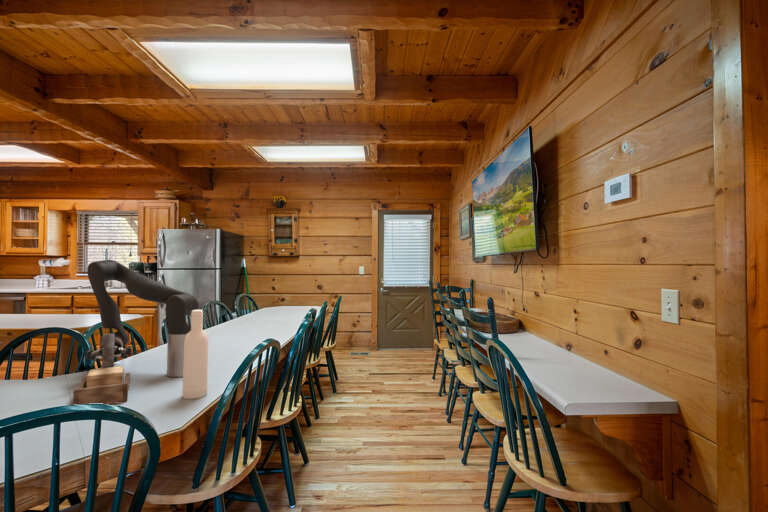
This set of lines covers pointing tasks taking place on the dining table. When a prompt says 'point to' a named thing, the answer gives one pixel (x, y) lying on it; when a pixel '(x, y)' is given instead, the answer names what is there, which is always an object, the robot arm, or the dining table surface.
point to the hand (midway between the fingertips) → (108, 356)
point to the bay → (102, 393)
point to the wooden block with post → (106, 366)
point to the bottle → (195, 359)
